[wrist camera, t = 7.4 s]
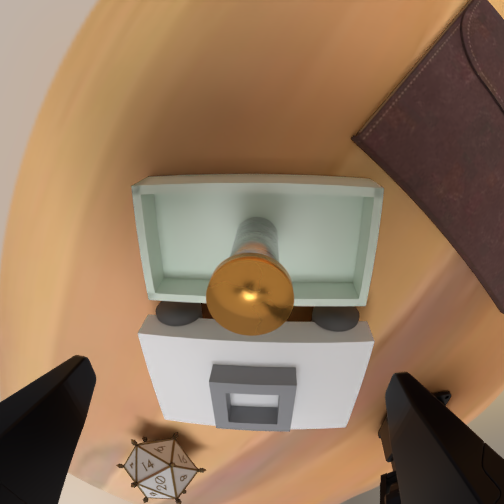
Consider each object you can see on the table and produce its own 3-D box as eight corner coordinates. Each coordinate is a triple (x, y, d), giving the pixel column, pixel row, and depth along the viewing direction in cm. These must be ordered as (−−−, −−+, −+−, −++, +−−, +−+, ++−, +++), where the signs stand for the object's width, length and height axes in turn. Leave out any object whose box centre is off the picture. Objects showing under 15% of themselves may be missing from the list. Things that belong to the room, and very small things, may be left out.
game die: (160, 409, 33) (101, 431, 23) (223, 439, 30) (173, 477, 20) (151, 463, 32) (98, 491, 23) (208, 493, 29) (162, 534, 20)
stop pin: (287, 208, 17) (296, 262, 11) (285, 263, 19) (291, 336, 13) (226, 207, 18) (202, 260, 11) (228, 262, 19) (209, 333, 13)
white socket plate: (360, 300, 20) (381, 354, 15) (339, 392, 24) (347, 444, 19) (156, 294, 21) (127, 345, 16) (176, 386, 25) (161, 435, 20)
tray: (370, 178, 17) (384, 188, 15) (356, 284, 20) (365, 306, 18) (148, 176, 18) (131, 185, 15) (161, 279, 21) (148, 299, 18)
